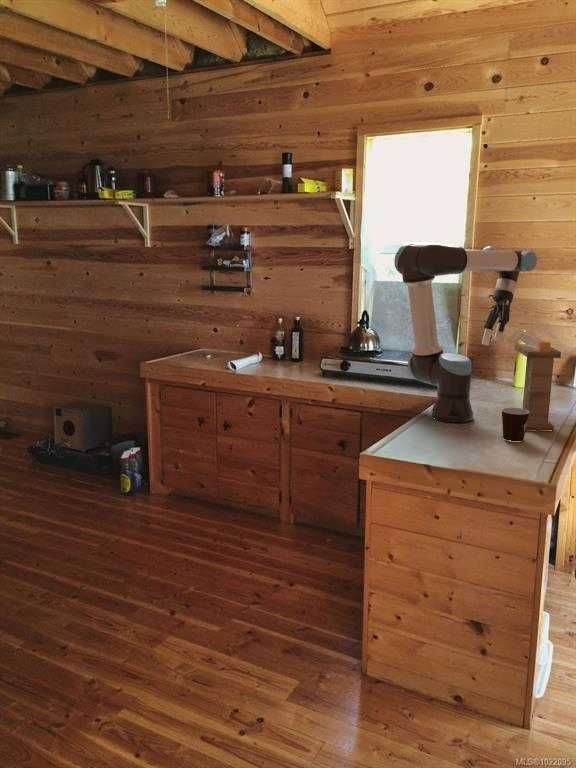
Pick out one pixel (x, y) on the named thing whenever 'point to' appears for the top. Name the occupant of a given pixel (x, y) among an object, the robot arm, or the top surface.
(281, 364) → the top surface
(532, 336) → the clear orange-capped tube
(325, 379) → the top surface
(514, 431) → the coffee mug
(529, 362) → the shelf post
